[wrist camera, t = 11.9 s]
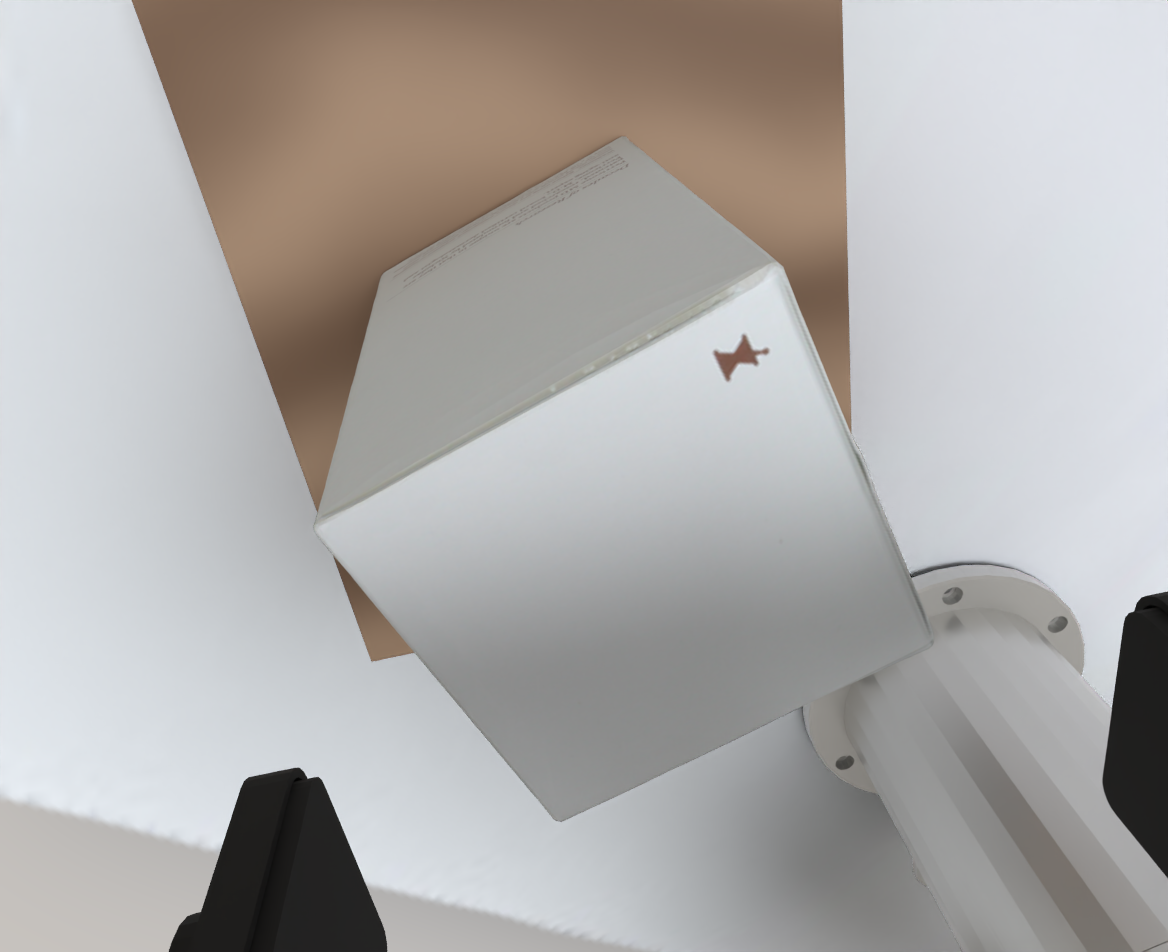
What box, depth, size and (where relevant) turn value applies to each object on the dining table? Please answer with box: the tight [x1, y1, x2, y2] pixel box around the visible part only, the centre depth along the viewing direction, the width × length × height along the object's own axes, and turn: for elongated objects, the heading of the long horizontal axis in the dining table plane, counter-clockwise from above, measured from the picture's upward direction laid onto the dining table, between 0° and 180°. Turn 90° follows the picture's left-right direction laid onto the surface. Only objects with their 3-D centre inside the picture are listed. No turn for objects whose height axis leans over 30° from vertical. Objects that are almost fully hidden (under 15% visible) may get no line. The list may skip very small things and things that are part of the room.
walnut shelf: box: [132, 0, 851, 661], centre depth 27 cm, size 20×16×6 cm
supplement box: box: [313, 136, 934, 822], centre depth 18 cm, size 7×7×13 cm
